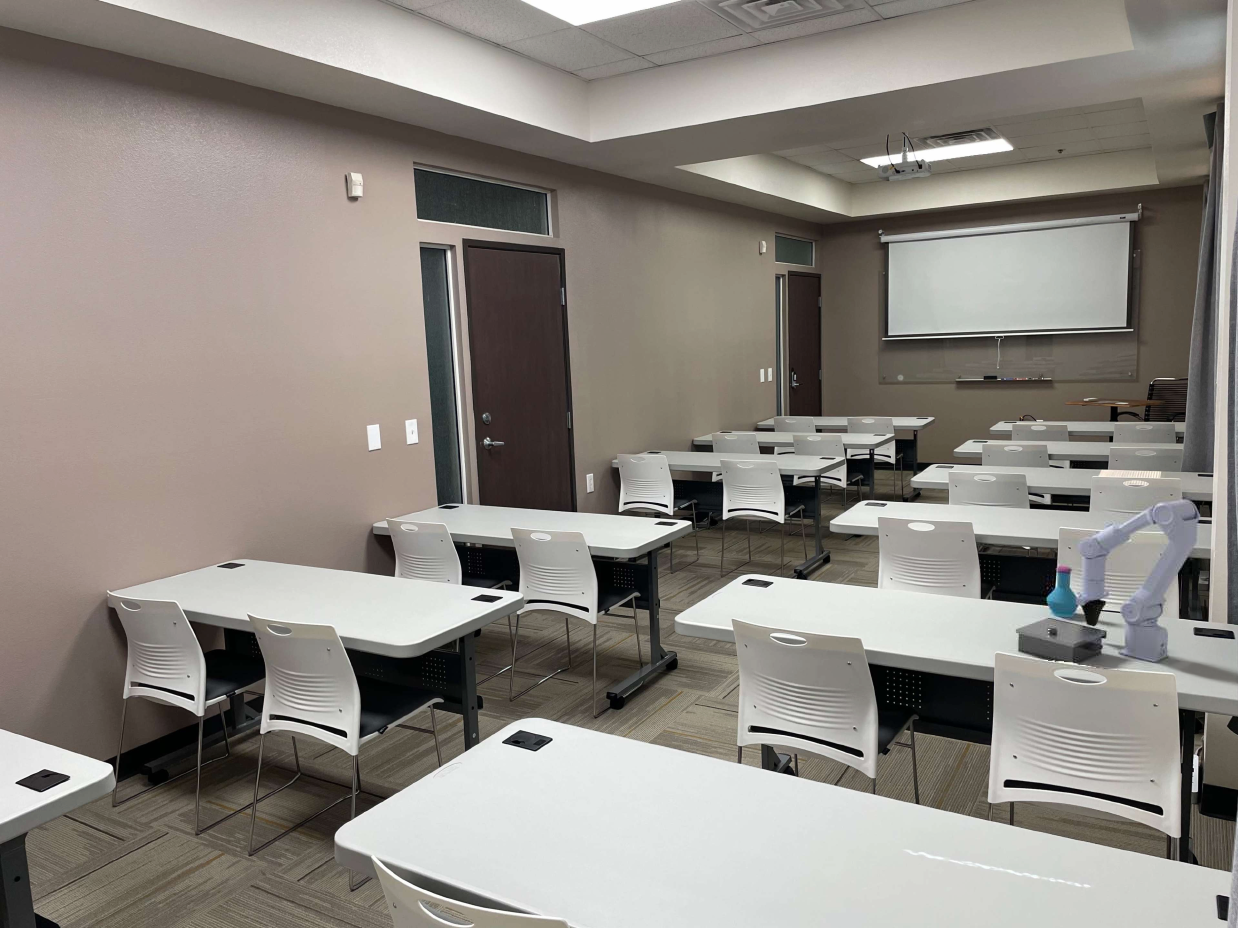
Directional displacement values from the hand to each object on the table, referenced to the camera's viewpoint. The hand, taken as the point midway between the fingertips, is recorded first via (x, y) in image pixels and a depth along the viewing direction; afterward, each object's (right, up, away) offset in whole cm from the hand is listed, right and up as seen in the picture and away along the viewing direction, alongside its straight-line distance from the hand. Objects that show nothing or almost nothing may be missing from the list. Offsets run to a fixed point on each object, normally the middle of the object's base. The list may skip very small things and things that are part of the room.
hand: (1091, 624), depth 245 cm
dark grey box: (-14, -6, -9) cm, 17 cm away
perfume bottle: (+5, -2, +25) cm, 26 cm away
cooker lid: (-14, -2, -9) cm, 16 cm away
